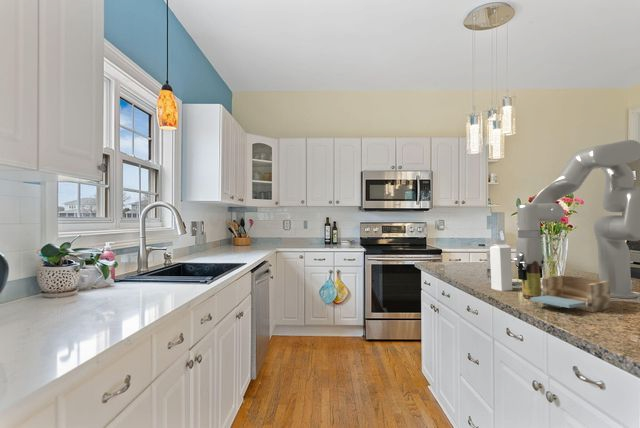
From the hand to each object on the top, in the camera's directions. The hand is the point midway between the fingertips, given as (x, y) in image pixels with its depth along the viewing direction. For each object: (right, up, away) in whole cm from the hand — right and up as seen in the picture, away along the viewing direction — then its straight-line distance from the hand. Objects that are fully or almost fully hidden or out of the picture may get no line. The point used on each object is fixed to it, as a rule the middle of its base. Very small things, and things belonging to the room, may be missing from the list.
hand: (530, 278), depth 133 cm
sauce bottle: (0, -8, 0) cm, 8 cm away
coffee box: (+4, -9, +31) cm, 32 cm away
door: (-1, -6, -16) cm, 17 cm away
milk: (-2, -8, +18) cm, 20 cm away
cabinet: (+9, -7, -11) cm, 16 cm away
